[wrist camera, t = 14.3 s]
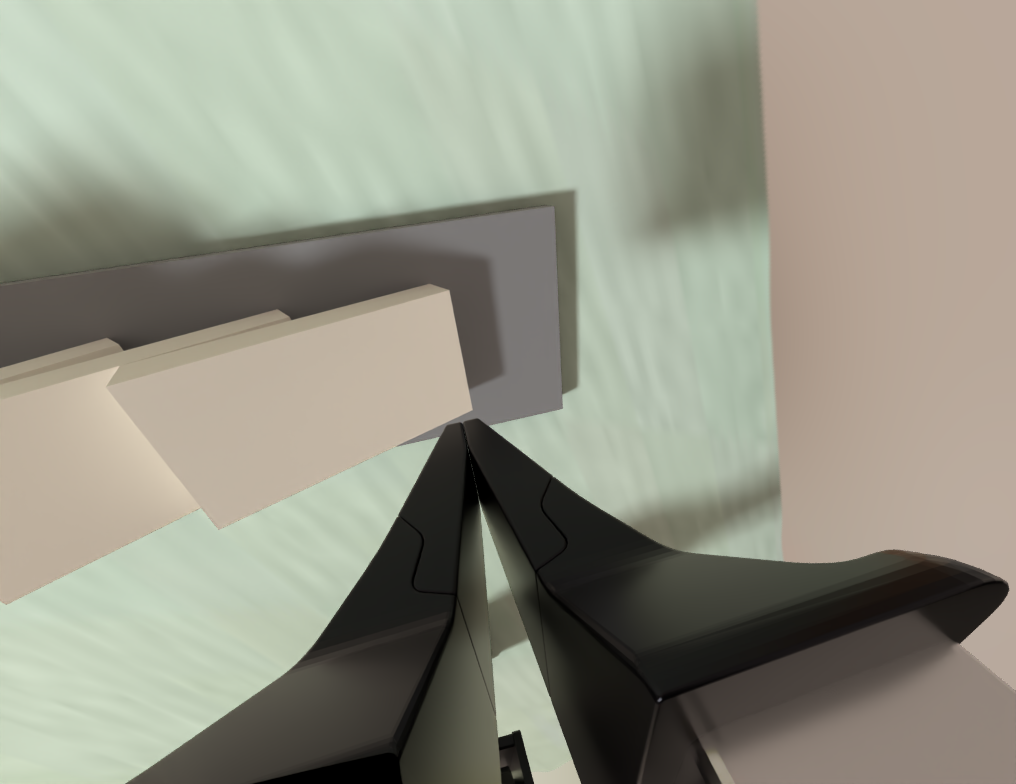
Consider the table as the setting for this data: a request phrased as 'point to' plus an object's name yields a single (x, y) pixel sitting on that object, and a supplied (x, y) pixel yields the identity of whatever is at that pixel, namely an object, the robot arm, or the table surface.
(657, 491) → the table surface
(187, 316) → the board
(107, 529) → the domino
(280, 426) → the domino
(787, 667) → the robot arm
